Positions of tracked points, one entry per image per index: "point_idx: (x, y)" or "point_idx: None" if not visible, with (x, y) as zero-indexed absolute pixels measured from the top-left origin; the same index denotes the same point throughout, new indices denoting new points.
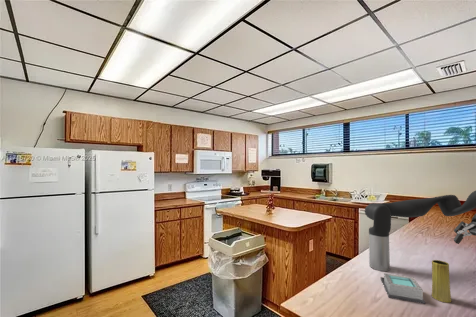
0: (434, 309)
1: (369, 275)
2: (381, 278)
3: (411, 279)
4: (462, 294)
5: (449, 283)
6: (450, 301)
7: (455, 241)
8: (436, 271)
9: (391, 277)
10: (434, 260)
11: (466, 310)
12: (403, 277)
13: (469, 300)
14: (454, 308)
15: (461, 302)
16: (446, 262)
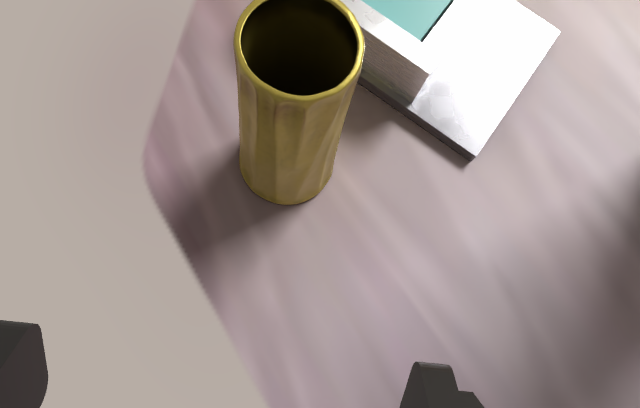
0: (217, 15)
1: (609, 20)
2: (543, 21)
3: (409, 36)
4: (290, 351)
5: (242, 129)
6: (240, 163)
7: (418, 366)
8: (289, 28)
9: None
10: (356, 46)
11: (157, 162)
12: (445, 16)
13: (224, 308)
14: (191, 121)
15: (222, 230)
16: (281, 94)
